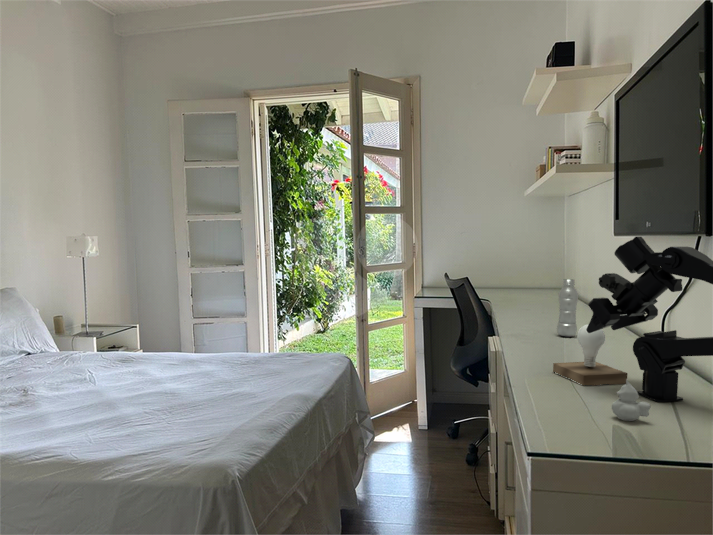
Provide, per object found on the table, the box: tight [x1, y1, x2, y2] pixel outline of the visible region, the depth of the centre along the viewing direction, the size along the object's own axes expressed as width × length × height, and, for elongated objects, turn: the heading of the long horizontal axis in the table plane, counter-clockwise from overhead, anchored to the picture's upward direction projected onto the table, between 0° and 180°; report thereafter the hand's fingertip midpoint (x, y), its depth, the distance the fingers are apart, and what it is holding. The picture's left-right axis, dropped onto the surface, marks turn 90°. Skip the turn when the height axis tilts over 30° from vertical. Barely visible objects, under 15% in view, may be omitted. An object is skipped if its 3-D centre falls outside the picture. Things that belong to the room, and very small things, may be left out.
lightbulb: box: [576, 323, 606, 368], centre depth 131 cm, size 6×6×11 cm
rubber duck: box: [611, 378, 651, 422], centre depth 102 cm, size 5×7×8 cm
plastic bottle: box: [556, 278, 579, 338], centre depth 185 cm, size 6×7×20 cm
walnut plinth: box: [552, 361, 628, 386], centre depth 132 cm, size 12×12×2 cm
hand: (600, 330), depth 129 cm, fingers open, 9 cm apart
